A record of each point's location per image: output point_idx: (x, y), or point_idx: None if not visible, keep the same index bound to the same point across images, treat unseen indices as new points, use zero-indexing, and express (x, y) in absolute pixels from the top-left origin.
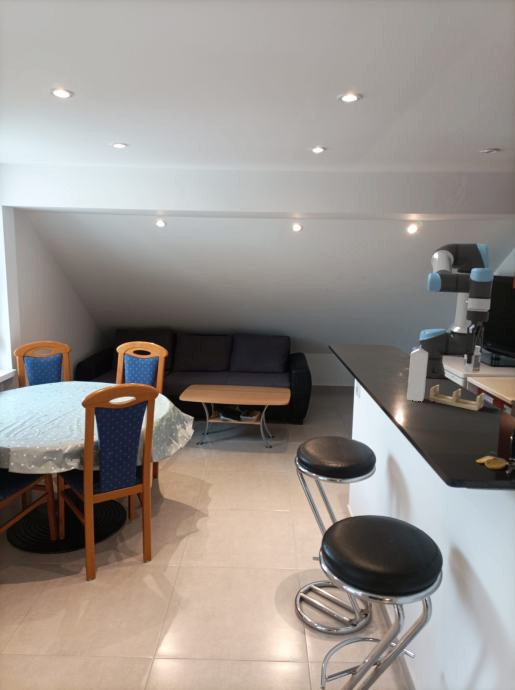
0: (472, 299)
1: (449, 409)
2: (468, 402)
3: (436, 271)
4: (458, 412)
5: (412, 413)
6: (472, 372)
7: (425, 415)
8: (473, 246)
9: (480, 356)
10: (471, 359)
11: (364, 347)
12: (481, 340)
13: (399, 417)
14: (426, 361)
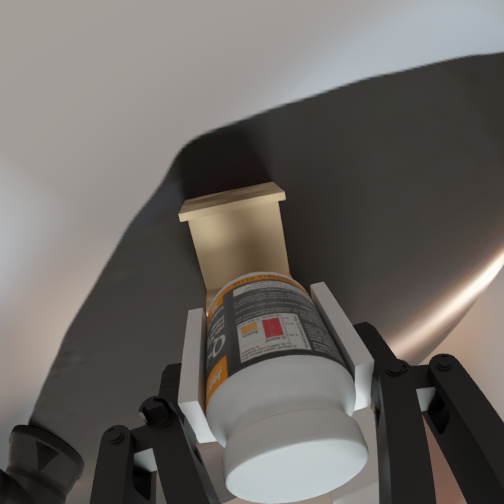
0: None
1: (344, 248)
2: (229, 244)
3: None
4: (353, 210)
5: (453, 279)
6: (317, 283)
7: (449, 250)
8: None
9: (281, 346)
10: (368, 346)
11: None
12: None
13: (490, 273)
14: (376, 453)
